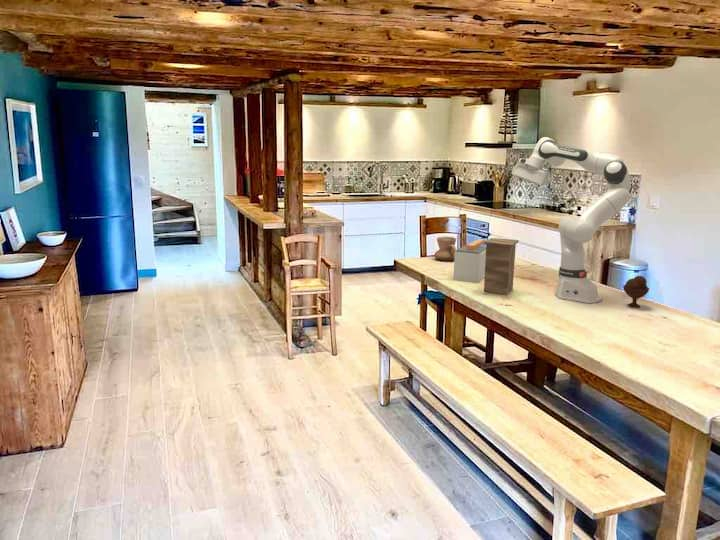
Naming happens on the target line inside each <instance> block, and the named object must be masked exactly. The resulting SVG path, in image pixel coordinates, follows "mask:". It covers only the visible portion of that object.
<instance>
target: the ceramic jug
mask: <svg viewBox="0 0 720 540" xmlns="http://www.w3.org/2000/svg"><path fill="white" fill-rule="evenodd" d="M436 242H437V246H438V250H437V251H435V252H434V258H435V259H436V260H439V261H443V262H451V261H454V257H455V251H456V250H457V249H456V242H457V238H456V237H453V236H438V237H437V238H436Z"/></svg>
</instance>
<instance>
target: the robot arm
mask: <svg viewBox="0 0 720 540" xmlns="http://www.w3.org/2000/svg"><path fill="white" fill-rule="evenodd" d="M566 160H570V161H572V162H574V163H575V164H577V165H578V166H580V167H581V168H582V169H584V170H585V171H587V172H589V173H592V174H595V175H596V174H597V175H603V177H604V179H605V184H606V187H607V191H605V192H604V193H603V194H601V195H600V196H598V198H596V199H595V200H594V201H593V202H591V203H590V204H588V205H587V207H586V209H585V210H584V211H583V213H581V215H579V216H578V217H576V216H565V217H563V218H562V219H561V220H560V221H559V223H558V227H557V228H558V231H559V238H560V248H561V255H560V256H561V257H560V266H559V268H558V282H557V286H556V290H555V292H554V295H555V296H556V297H558V298H557V299H561V300H567V301H573V302H579V303H585V304H594V303H595V304H596V303H598V302H601V301H602V300H603V296H601V295H599V291H598V286H597V285H596V284H595V283H594V282H593V281H592V280H591V279H590V278H589V277H587V275H588V274H589V272H590V271H589V270H587V271H586V269H585V262H586V261H585V260H586V251H585V249H584V243H588V242H590V241H591V240H592V239H593V237H594V234H595V233H596V232H597V231H598V229H599V228H600V227H601V226H602V225H603V224H604V223H606V222H607V221H608V220H609V219H611V217H613V216H615V215H616V214H617V213H619V212H620V211H621V210H622V209H623V208H624V207H625V206H626V205H627V204H628V203H629V201H631V193H632V189H633V187H632V186H633V185H632V182H631V177H630V176H631V175H630V173H629V171H628V168H627V166H626V164H625V163H624V159H623V158H622V157H621V156H619V155H616V154H613V153H609V152H602V151H595V150H587V149H581V148H577V147H573V146H567V145H562V144H559V143H557V142H556V141H555V140H554V139H553V138H551V137H548V136H547V137H546V136H543V137H541V138H539V140H538V141H537V143H536V145H535V146H534V148H533V150H532V154H531V155H530V156H529V158H519V160H518V162H517V163H516V164H515V165H514V167H513V168H512V170H511V175H512V176H513V177H514V178H515V182H514V186H516V187H519V184H520V183H519V180H520V179H521V180H523V181H526V182H529V183H532V184H533V186H532V187H531V186H530V187H529V189H528V191H529V192H533V191H534V189H536V188H537V187H538V186H540V187H541V188H543V187H544V186H545V185H546V183H547V180H548V178H549V177H550V175H551V172H550V171H549V170H548V169H546V168H544V166H545V164H546V163H548V164H549V165H550V166H553V167H560V166H562V165H563V164H564V163H565V162H566Z"/></svg>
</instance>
